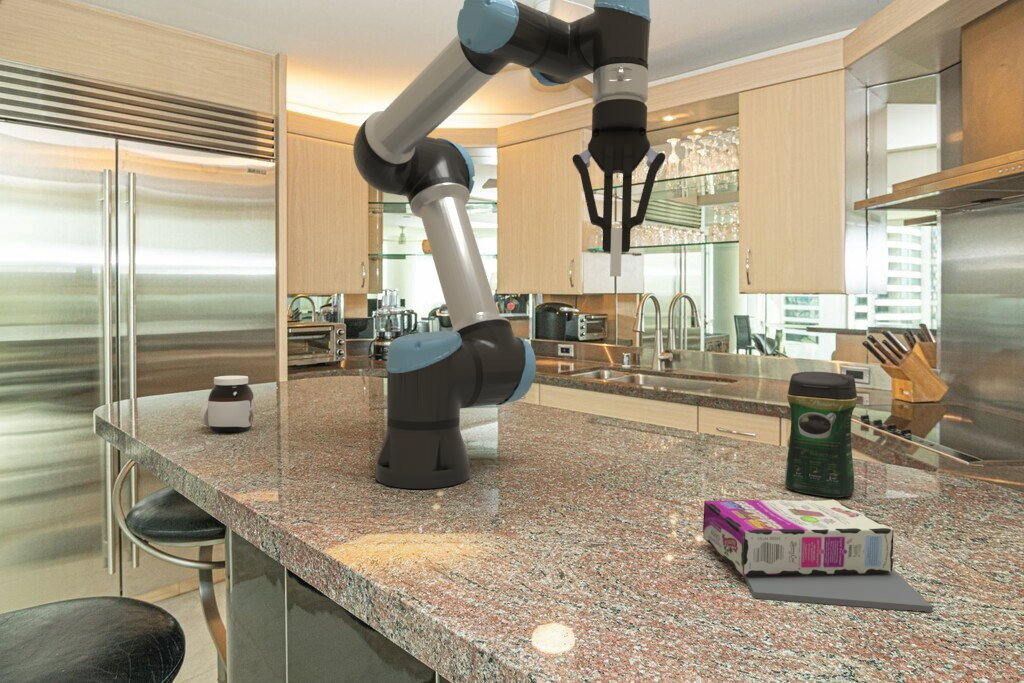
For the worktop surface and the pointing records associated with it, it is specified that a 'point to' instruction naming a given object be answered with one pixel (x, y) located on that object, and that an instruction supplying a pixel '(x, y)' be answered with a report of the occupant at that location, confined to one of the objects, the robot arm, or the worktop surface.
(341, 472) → the worktop surface
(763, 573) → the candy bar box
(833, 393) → the coffee jar
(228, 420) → the spread jar
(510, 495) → the worktop surface
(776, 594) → the mat
